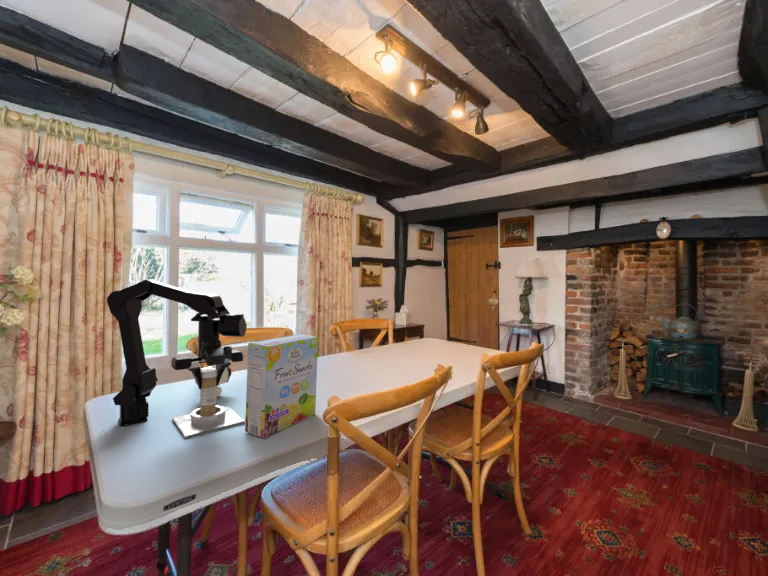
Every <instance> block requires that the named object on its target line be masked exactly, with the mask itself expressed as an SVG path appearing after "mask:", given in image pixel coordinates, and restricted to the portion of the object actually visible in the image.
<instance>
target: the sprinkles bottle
mask: <svg viewBox="0 0 768 576" xmlns="http://www.w3.org/2000/svg"><path fill="white" fill-rule="evenodd" d="M216 377H217V370H216V369H204V370H201V383H202V387H201V389H199V390H200V393H199V394H200V397H199V398H200V401H199V403H200V407H199V408H200V415H201V416H206V415H212V414H215V413H216V406H217V397H216Z"/></svg>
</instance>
